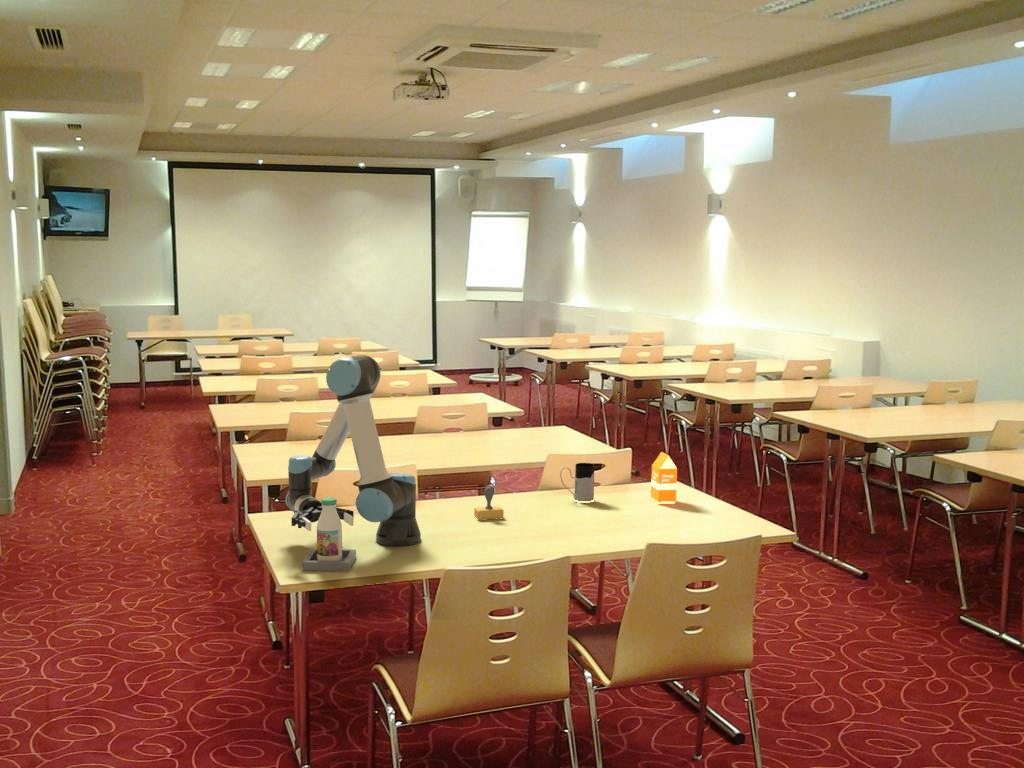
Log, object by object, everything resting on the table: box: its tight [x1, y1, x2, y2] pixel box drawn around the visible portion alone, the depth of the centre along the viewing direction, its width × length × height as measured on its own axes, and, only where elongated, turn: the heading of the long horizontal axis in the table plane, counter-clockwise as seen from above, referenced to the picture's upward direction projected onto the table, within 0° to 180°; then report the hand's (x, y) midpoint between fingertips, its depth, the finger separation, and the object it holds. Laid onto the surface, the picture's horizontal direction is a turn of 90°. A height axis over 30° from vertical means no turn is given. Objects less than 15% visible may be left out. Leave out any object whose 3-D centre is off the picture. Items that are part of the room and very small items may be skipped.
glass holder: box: [559, 462, 595, 501], centre depth 385 cm, size 9×14×15 cm, turn 91°
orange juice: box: [650, 451, 678, 502], centre depth 386 cm, size 8×9×20 cm
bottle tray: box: [301, 548, 357, 572], centre depth 297 cm, size 14×14×3 cm
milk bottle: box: [316, 497, 343, 561], centre depth 296 cm, size 8×8×20 cm
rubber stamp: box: [473, 486, 505, 521], centre depth 356 cm, size 10×6×12 cm, turn 106°
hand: (331, 524), depth 294 cm, fingers open, 13 cm apart
